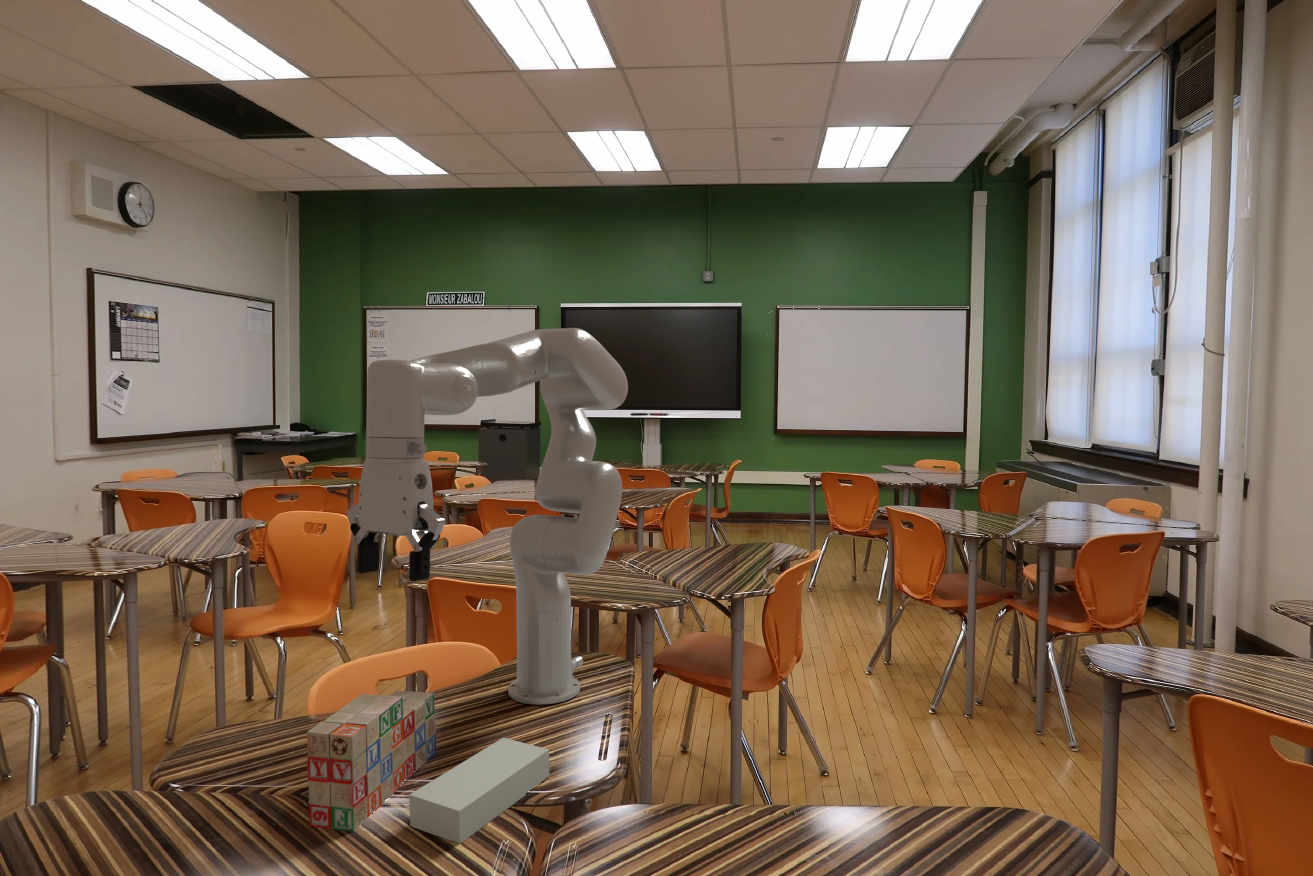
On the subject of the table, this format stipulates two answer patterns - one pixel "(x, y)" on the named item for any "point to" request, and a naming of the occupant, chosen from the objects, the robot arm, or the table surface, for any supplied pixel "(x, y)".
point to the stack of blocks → (367, 755)
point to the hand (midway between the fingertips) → (393, 575)
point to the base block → (478, 789)
